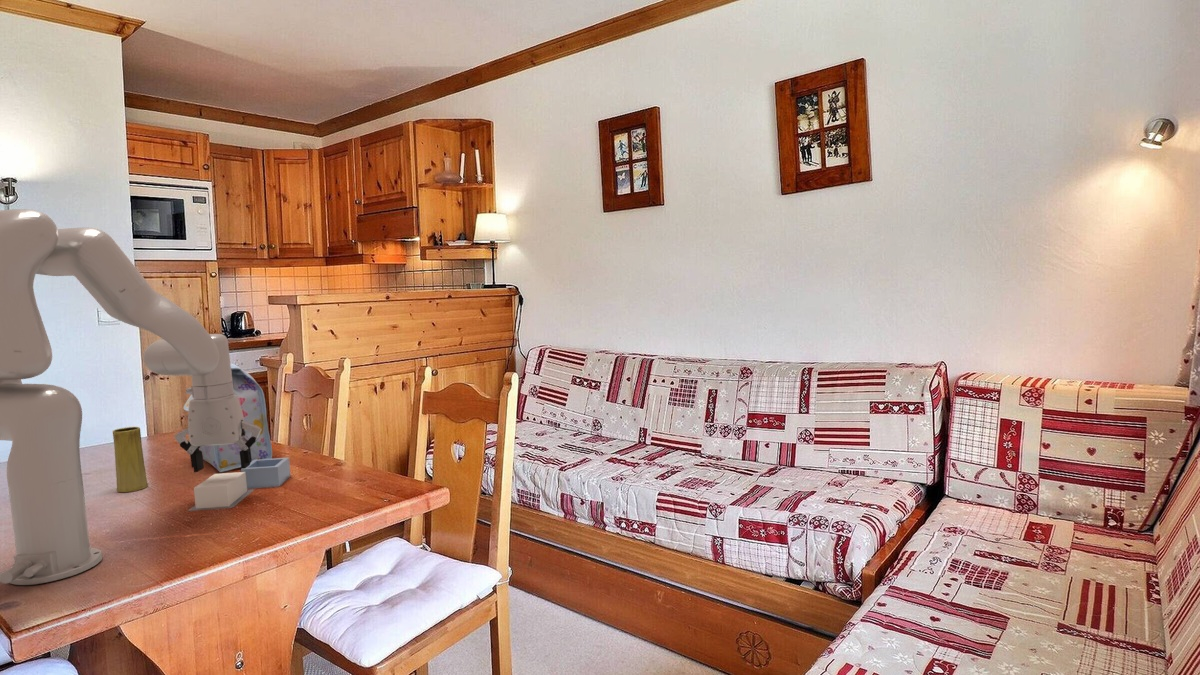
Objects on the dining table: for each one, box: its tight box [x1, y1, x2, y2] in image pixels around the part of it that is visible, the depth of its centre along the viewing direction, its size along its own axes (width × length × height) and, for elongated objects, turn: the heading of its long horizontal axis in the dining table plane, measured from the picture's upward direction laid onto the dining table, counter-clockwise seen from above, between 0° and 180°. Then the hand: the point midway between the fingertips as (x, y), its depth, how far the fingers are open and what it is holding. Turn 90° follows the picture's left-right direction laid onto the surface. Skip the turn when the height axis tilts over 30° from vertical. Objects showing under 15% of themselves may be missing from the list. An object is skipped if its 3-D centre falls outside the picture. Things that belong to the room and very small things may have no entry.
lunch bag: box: [182, 362, 273, 473], centre depth 177 cm, size 22×17×26 cm
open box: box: [240, 457, 291, 490], centre depth 156 cm, size 8×8×5 cm
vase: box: [112, 426, 149, 494], centre depth 156 cm, size 6×6×14 cm
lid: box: [193, 471, 248, 509], centre depth 145 cm, size 10×6×4 cm, turn 8°
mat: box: [187, 488, 256, 512], centre depth 145 cm, size 12×9×1 cm
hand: (222, 468), depth 145 cm, fingers open, 9 cm apart
